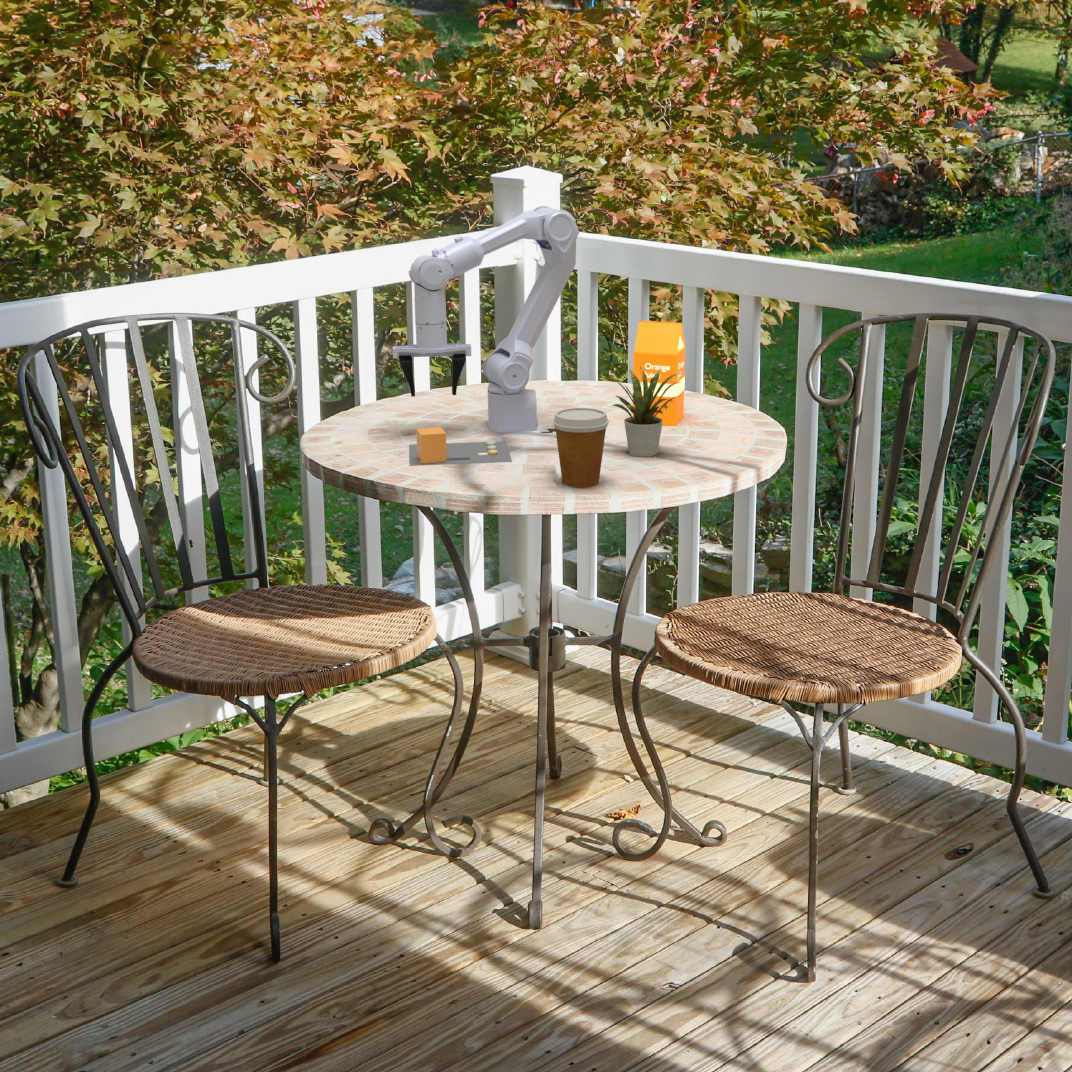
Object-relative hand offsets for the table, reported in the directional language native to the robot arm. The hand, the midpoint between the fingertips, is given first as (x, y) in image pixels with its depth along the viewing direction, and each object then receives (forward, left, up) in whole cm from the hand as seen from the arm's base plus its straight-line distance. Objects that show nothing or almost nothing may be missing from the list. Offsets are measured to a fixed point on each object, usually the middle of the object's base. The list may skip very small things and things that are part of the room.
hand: (433, 394), depth 245 cm
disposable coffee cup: (-24, +29, -10) cm, 39 cm away
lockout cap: (+1, +17, -8) cm, 19 cm away
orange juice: (-45, -11, -10) cm, 47 cm away
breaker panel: (-4, +13, -9) cm, 17 cm away
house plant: (-39, +13, -10) cm, 42 cm away
